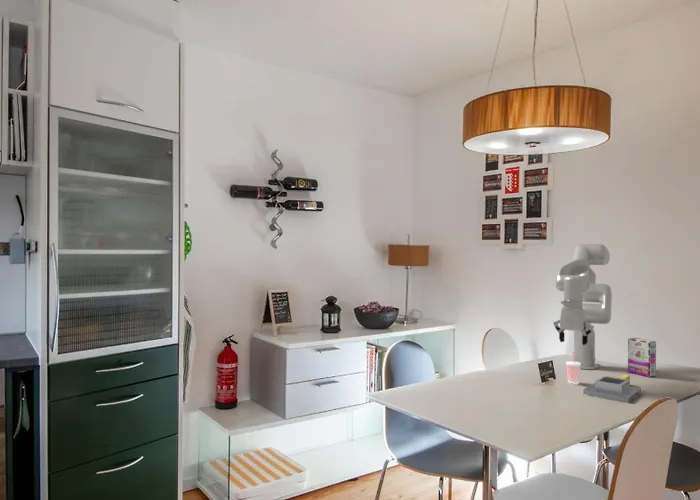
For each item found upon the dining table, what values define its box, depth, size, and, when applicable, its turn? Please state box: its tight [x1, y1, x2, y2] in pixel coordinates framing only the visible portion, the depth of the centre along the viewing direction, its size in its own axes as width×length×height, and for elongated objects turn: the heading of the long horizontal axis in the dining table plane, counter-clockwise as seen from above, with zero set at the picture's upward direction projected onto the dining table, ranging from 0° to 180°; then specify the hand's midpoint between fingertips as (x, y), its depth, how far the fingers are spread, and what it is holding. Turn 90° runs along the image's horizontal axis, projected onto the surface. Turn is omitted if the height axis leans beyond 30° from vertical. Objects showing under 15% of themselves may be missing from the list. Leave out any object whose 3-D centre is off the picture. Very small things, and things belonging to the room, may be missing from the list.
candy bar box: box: [627, 337, 657, 378], centre depth 243 cm, size 11×5×16 cm, turn 25°
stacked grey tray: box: [583, 375, 642, 404], centre depth 213 cm, size 17×17×6 cm
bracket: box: [606, 374, 631, 386], centre depth 221 cm, size 14×8×6 cm, turn 136°
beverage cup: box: [565, 350, 581, 385], centre depth 230 cm, size 6×6×14 cm
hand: (573, 343), depth 229 cm, fingers open, 9 cm apart
